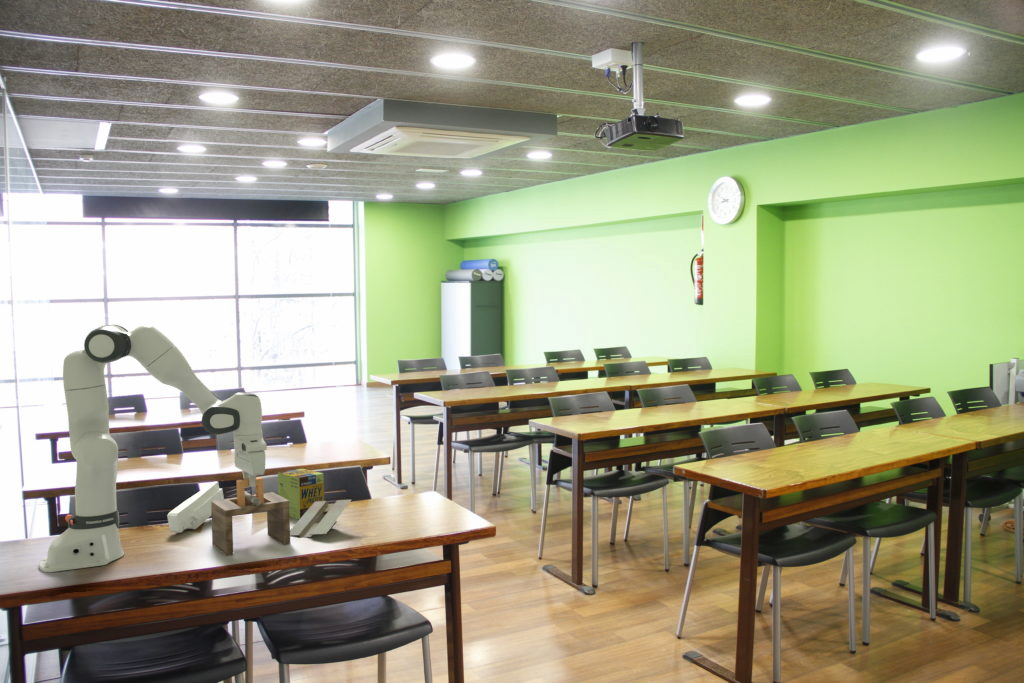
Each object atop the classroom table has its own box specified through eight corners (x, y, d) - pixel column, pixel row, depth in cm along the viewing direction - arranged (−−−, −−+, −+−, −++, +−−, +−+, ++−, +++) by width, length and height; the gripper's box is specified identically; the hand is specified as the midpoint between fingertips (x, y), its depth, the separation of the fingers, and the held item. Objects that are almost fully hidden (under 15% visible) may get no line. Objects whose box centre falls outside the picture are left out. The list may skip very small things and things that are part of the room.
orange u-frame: (240, 512, 246) (239, 481, 246) (237, 511, 248) (236, 480, 248) (264, 509, 250) (263, 478, 250) (261, 507, 253) (260, 476, 252)
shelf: (226, 555, 237) (225, 504, 237) (212, 544, 250) (210, 494, 250) (290, 543, 249) (289, 494, 249) (273, 533, 262) (272, 486, 262)
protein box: (300, 520, 278) (299, 477, 278) (278, 513, 289) (277, 472, 288) (325, 514, 286) (324, 473, 285) (302, 508, 296) (301, 467, 296)
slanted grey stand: (343, 551, 256) (363, 508, 267) (326, 533, 250) (347, 491, 262) (302, 552, 265) (323, 511, 276) (284, 535, 259) (307, 494, 271)
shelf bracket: (228, 515, 288) (223, 481, 285) (185, 551, 262) (179, 514, 259) (214, 515, 289) (209, 481, 286) (170, 550, 263) (163, 514, 260)
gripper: (229, 439, 255) (230, 481, 256) (248, 447, 239) (249, 492, 239) (248, 437, 259) (249, 478, 259) (268, 445, 242) (269, 489, 243)
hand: (249, 485), depth 249 cm, fingers closed on orange u-frame, 3 cm apart
